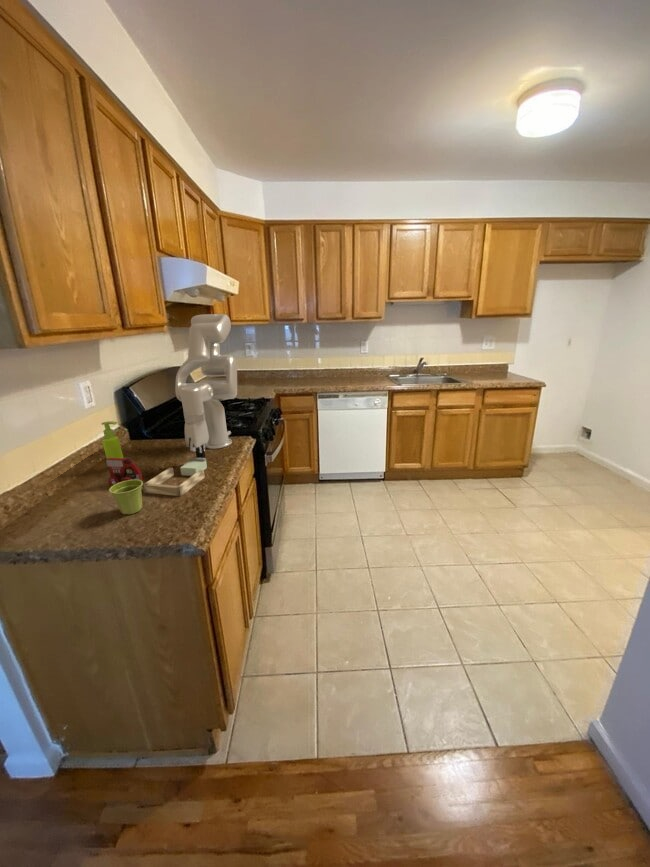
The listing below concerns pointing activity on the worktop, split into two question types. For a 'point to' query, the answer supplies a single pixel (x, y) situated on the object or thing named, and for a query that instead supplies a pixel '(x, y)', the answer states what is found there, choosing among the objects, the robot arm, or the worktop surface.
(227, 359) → the robot arm
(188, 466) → the pale green block
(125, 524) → the worktop surface
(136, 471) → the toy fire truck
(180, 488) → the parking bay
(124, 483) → the plant pot
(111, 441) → the soap dispenser
